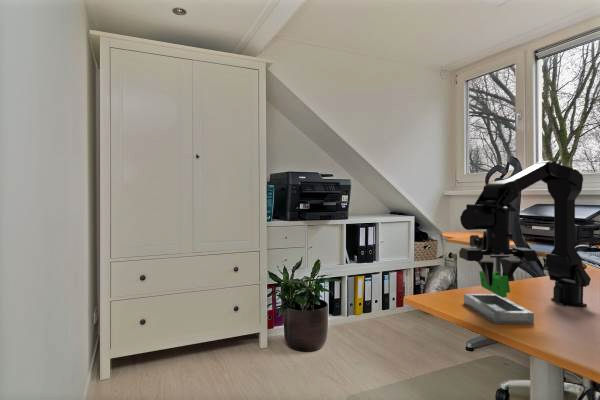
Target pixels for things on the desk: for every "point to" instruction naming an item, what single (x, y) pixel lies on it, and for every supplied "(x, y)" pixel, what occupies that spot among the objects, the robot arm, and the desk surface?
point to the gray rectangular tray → (498, 309)
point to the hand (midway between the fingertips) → (496, 285)
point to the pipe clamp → (496, 284)
